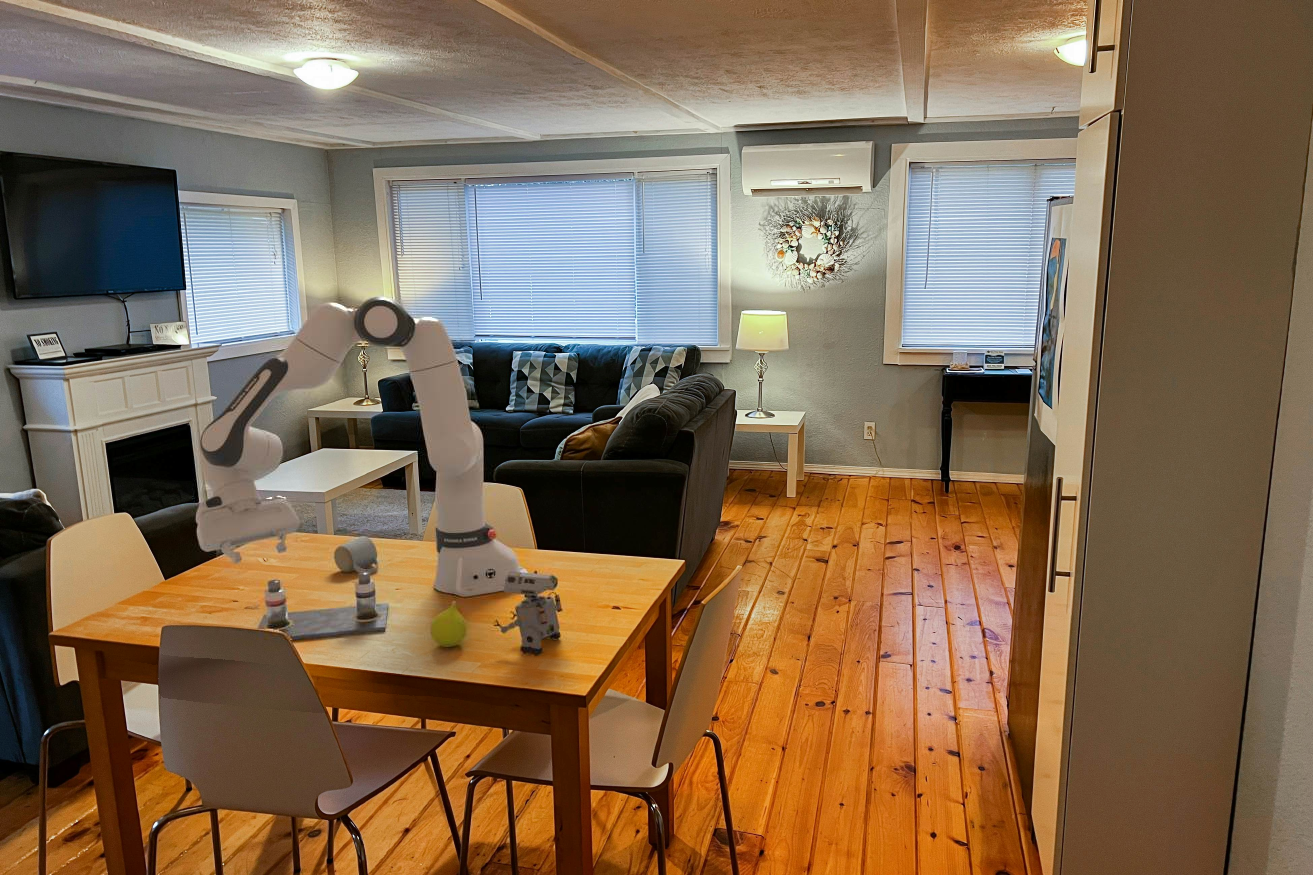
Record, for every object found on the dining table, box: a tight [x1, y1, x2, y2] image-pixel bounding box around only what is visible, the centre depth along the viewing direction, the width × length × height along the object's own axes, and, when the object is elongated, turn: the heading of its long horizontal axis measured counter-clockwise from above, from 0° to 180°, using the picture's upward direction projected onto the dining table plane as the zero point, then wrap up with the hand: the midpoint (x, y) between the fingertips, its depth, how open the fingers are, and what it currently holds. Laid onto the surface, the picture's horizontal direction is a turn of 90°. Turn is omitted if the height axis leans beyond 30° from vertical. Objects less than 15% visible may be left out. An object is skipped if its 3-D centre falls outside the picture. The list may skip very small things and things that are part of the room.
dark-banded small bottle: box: [354, 572, 377, 619], centre depth 199 cm, size 4×4×10 cm
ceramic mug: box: [333, 535, 379, 575], centre depth 232 cm, size 11×8×8 cm
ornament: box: [430, 594, 468, 648], centre depth 185 cm, size 7×7×10 cm
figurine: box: [493, 570, 563, 656], centre depth 185 cm, size 9×12×15 cm
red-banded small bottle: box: [264, 579, 288, 628], centre depth 195 cm, size 4×4×10 cm
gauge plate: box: [256, 602, 389, 642], centre depth 198 cm, size 26×14×1 cm, turn 103°
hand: (260, 556), depth 197 cm, fingers open, 8 cm apart
